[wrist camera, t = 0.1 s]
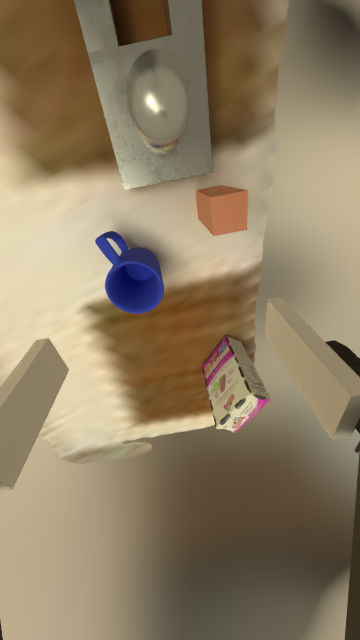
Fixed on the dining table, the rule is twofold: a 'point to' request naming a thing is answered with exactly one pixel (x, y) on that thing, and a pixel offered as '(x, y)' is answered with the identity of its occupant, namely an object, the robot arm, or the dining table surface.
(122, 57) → the gray socket post base
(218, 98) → the dining table surface
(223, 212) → the orange rectangular block
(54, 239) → the dining table surface
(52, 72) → the dining table surface
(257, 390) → the candy bar box
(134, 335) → the dining table surface
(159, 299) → the mug
